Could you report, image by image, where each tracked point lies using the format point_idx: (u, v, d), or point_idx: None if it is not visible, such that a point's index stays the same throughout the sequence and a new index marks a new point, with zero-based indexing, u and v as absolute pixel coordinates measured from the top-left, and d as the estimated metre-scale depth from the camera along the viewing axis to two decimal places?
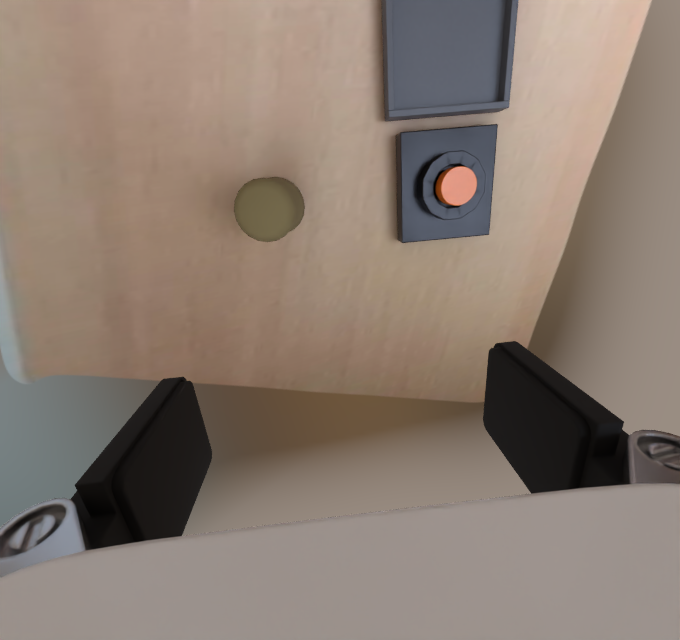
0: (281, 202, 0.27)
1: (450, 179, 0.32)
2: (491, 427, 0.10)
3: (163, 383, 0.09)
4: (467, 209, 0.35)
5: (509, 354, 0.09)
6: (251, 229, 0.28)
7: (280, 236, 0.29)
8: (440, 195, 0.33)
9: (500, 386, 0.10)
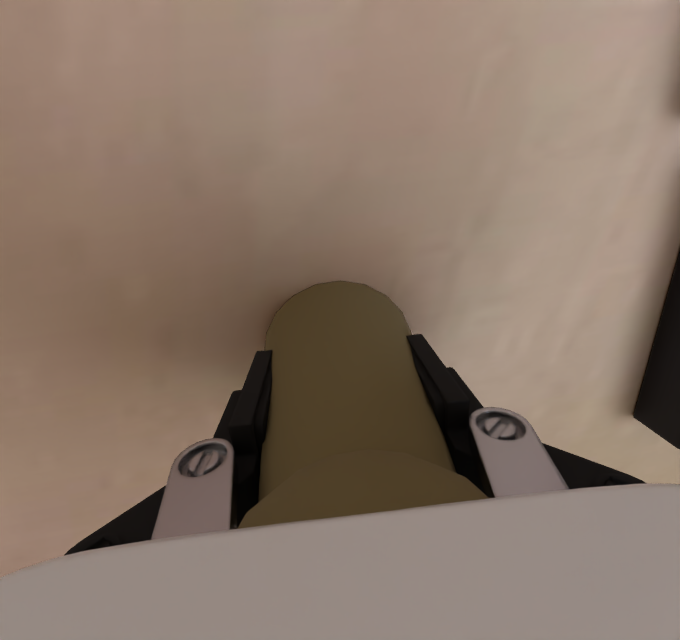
0: None
1: None
2: None
3: (259, 354, 0.10)
4: None
5: (410, 345, 0.10)
6: None
7: None
8: None
9: None
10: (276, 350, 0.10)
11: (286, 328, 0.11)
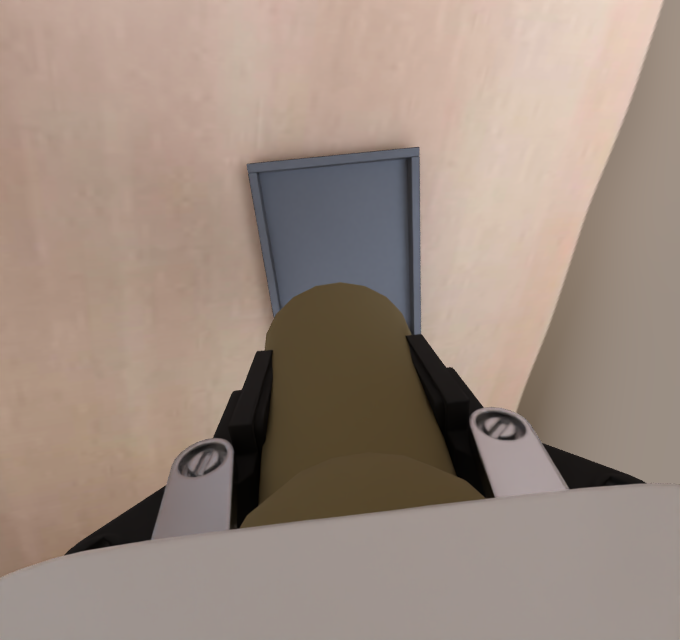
0: None
1: None
2: None
3: (259, 354, 0.10)
4: None
5: (410, 345, 0.10)
6: None
7: None
8: None
9: None
10: (276, 352, 0.10)
11: (286, 330, 0.11)
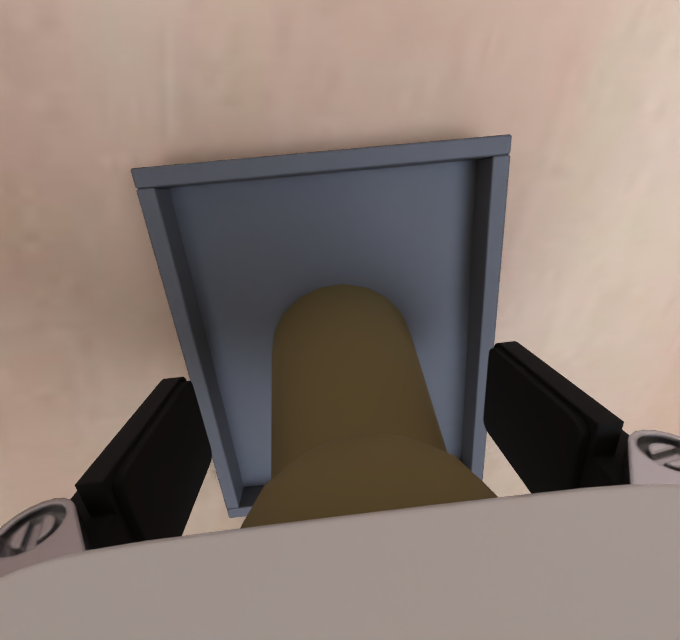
0: None
1: None
2: (491, 427, 0.10)
3: (163, 383, 0.09)
4: None
5: (509, 354, 0.09)
6: None
7: None
8: None
9: (500, 386, 0.10)
10: (284, 348, 0.11)
11: (293, 328, 0.12)
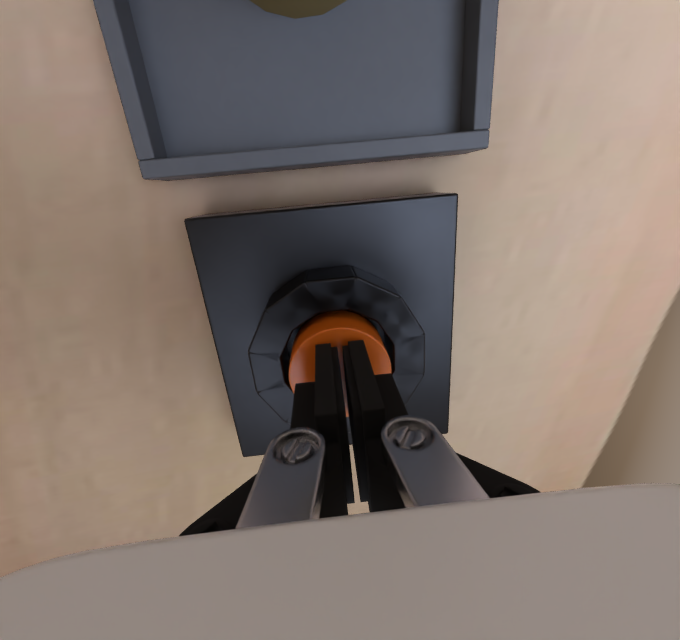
0: None
1: (312, 361, 0.11)
2: (349, 418, 0.11)
3: (319, 347, 0.11)
4: None
5: (349, 351, 0.10)
6: None
7: None
8: None
9: None
10: None
11: None
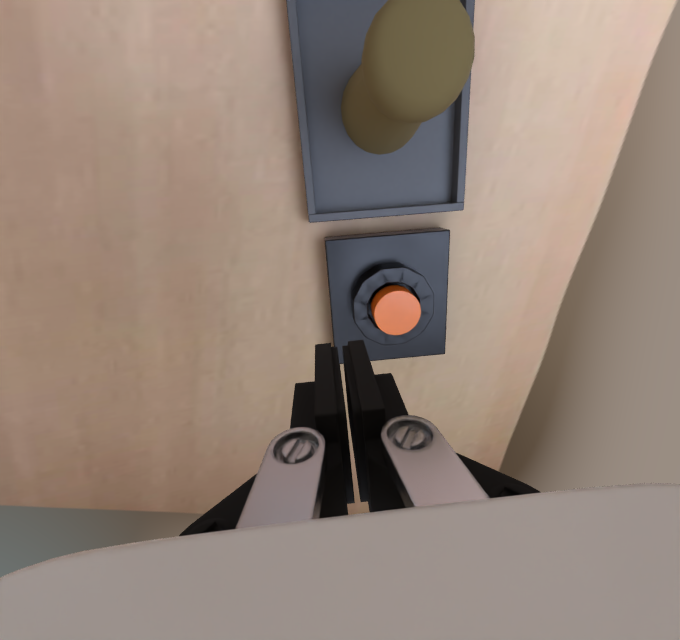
0: (463, 27, 0.14)
1: (385, 305, 0.25)
2: (349, 418, 0.11)
3: (319, 347, 0.11)
4: (412, 333, 0.27)
5: (349, 351, 0.10)
6: (400, 84, 0.15)
7: (443, 106, 0.16)
8: None
9: (346, 380, 0.11)
10: (358, 67, 0.21)
11: None
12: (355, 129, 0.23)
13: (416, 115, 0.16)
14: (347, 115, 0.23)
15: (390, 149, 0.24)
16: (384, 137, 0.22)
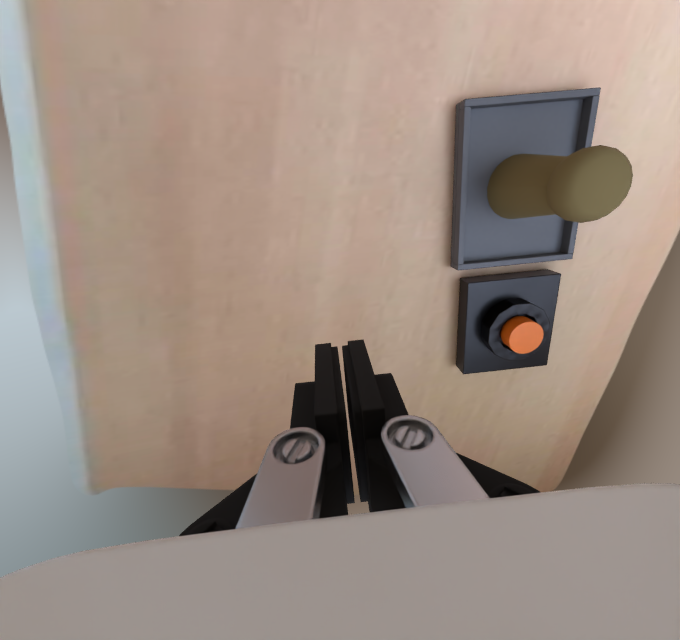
0: (628, 173, 0.23)
1: (518, 332, 0.34)
2: (349, 418, 0.11)
3: (319, 347, 0.11)
4: None
5: (349, 351, 0.10)
6: (584, 206, 0.23)
7: (605, 215, 0.24)
8: (507, 344, 0.35)
9: (346, 380, 0.11)
10: (515, 167, 0.30)
11: (514, 163, 0.30)
12: (504, 206, 0.32)
13: (586, 220, 0.25)
14: (498, 196, 0.32)
15: None
16: (532, 215, 0.30)
